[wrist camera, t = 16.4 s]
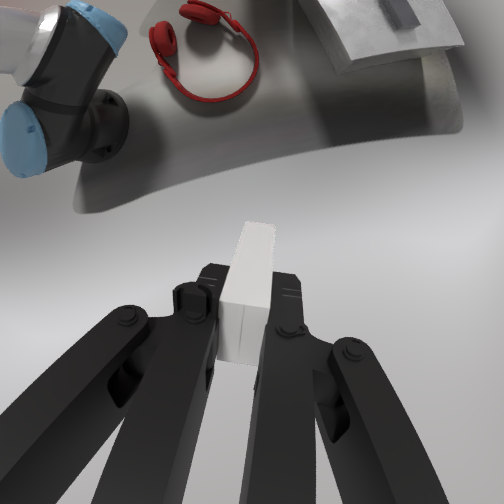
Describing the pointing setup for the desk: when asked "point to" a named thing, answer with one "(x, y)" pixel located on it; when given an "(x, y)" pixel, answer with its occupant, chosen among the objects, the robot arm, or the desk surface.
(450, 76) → the desk surface
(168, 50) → the headphones
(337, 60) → the open-top storage bin
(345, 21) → the lid
